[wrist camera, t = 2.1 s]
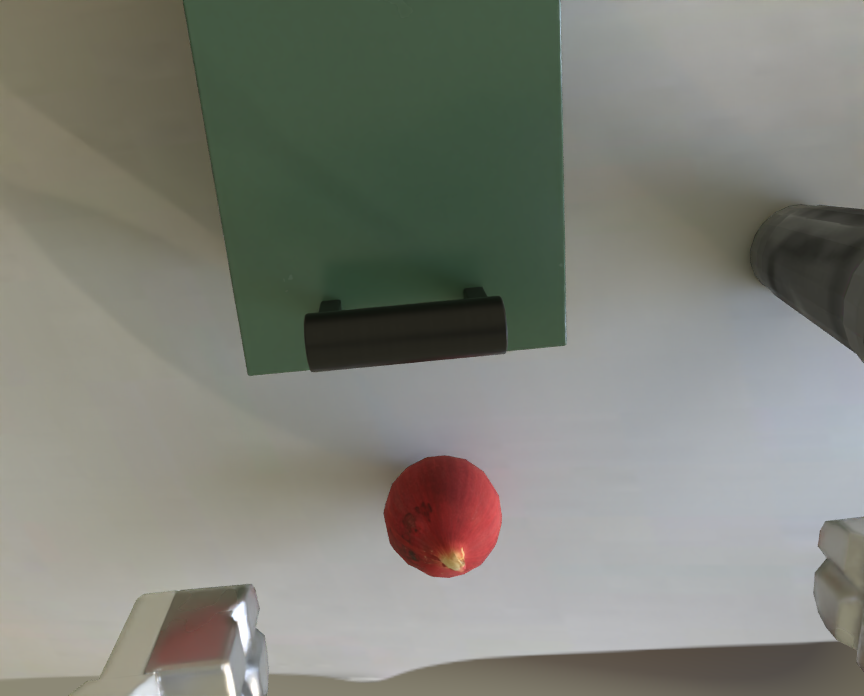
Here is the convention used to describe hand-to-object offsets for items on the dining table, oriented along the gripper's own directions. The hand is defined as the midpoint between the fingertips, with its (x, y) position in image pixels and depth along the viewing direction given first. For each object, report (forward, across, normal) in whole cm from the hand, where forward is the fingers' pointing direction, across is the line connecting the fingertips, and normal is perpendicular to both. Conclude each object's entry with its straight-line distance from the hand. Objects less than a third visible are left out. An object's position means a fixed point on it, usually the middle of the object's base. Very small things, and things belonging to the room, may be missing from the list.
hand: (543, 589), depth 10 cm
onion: (+27, 0, +13) cm, 30 cm away
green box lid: (+17, +1, -6) cm, 18 cm away
